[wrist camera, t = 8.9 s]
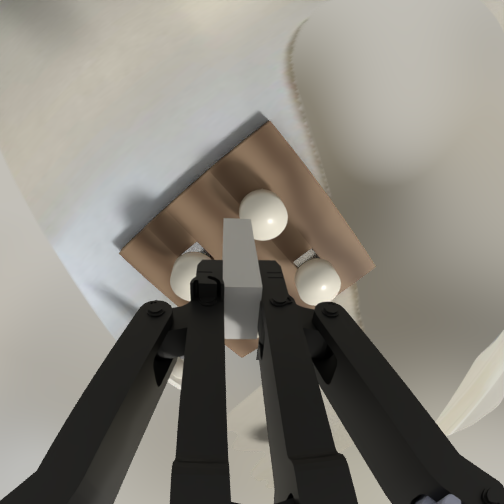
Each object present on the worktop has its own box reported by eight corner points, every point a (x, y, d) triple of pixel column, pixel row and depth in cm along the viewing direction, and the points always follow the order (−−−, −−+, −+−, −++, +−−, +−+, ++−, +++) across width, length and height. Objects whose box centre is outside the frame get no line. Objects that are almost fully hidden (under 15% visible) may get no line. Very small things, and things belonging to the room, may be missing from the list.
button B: (316, 242, 39) (326, 260, 35) (336, 269, 41) (348, 288, 37) (283, 267, 40) (289, 287, 36) (305, 291, 42) (313, 312, 38)
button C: (196, 235, 37) (193, 253, 33) (225, 264, 39) (225, 284, 35) (166, 261, 38) (160, 280, 34) (195, 287, 40) (192, 308, 36)
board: (268, 120, 34) (270, 121, 33) (372, 262, 44) (376, 266, 42) (121, 249, 39) (119, 253, 38) (241, 352, 49) (241, 357, 48)
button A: (263, 175, 36) (268, 186, 32) (289, 207, 38) (296, 221, 34) (229, 202, 37) (230, 216, 33) (256, 232, 39) (260, 249, 35)
